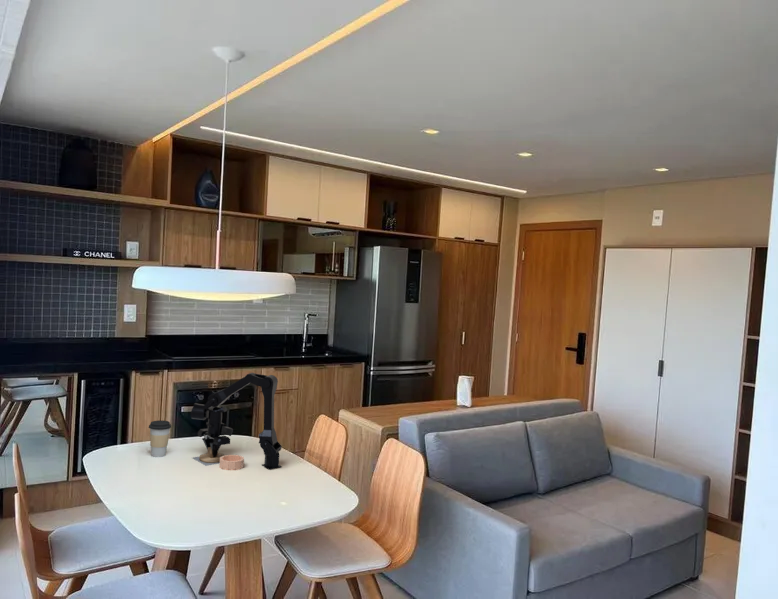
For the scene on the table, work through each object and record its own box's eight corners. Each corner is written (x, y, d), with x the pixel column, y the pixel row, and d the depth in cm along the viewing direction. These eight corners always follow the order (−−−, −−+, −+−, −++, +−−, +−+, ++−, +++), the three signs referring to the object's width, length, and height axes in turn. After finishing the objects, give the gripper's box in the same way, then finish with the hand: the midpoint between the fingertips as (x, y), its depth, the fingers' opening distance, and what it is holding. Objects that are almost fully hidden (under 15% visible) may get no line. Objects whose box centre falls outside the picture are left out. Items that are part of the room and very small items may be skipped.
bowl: (247, 468, 253) (248, 459, 252) (226, 472, 245) (227, 463, 245) (235, 462, 260) (236, 453, 259) (215, 466, 252) (215, 456, 252)
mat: (232, 461, 260) (232, 460, 260) (205, 466, 251) (205, 465, 251) (218, 454, 269) (218, 453, 269) (191, 458, 260) (191, 457, 260)
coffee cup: (173, 456, 262) (176, 422, 261) (155, 460, 254) (157, 426, 253) (160, 451, 267) (162, 418, 266) (141, 455, 259) (144, 422, 258)
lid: (229, 460, 260) (230, 448, 260) (206, 464, 252) (207, 452, 252) (217, 454, 268) (218, 442, 268) (194, 458, 260) (195, 446, 260)
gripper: (242, 423, 259) (239, 458, 259) (220, 414, 272) (218, 448, 273) (219, 426, 251) (216, 462, 251) (198, 417, 264) (196, 451, 265)
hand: (212, 455), depth 260 cm, fingers closed on lid, 3 cm apart
